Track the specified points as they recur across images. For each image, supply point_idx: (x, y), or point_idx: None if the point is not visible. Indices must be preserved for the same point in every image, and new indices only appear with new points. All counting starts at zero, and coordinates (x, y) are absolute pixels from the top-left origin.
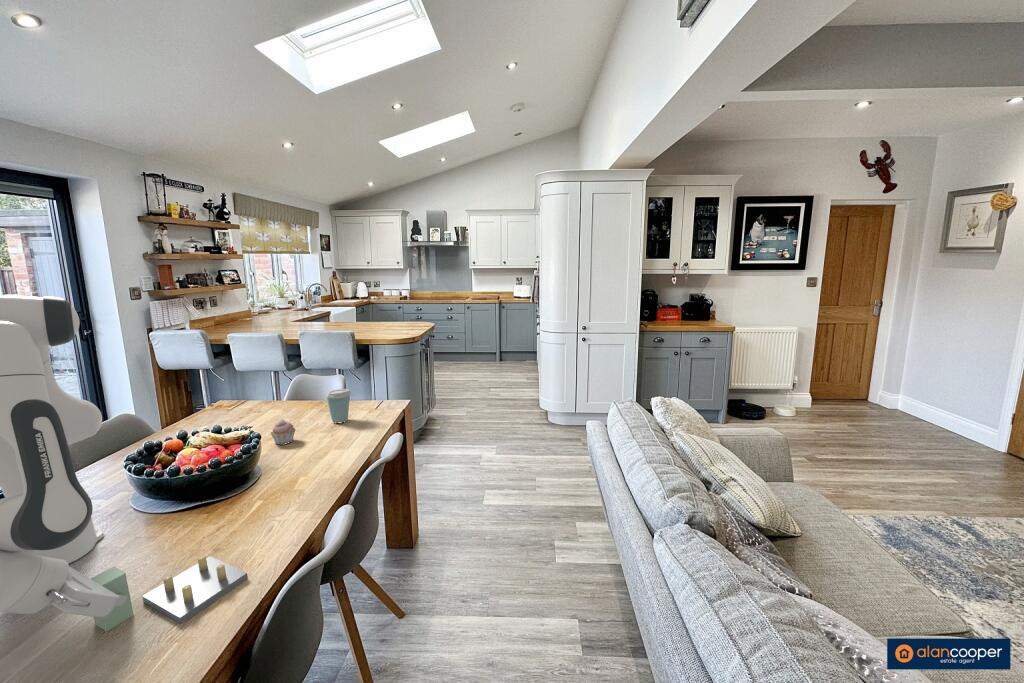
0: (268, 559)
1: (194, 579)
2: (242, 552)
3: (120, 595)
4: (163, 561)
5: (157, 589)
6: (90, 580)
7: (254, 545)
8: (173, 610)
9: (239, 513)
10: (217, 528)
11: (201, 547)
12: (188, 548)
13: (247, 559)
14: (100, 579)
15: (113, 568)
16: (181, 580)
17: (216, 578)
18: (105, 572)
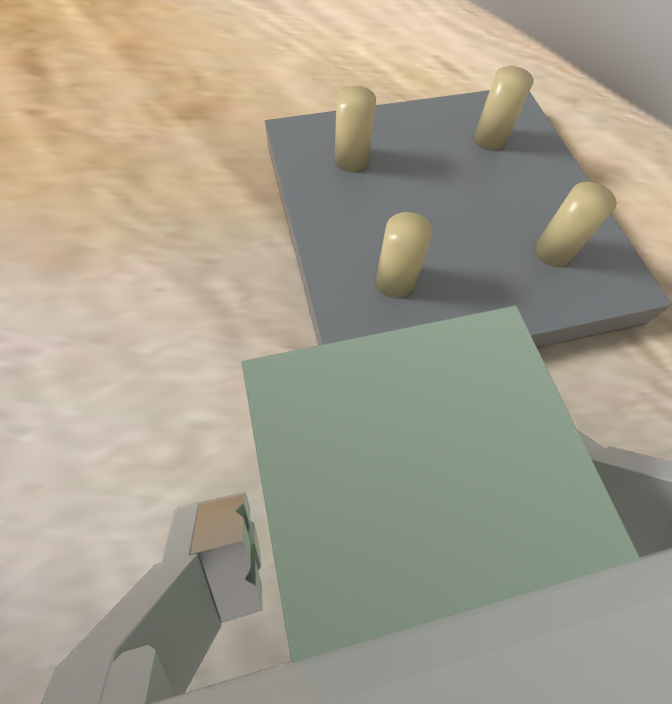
0: (446, 48)
1: (401, 199)
2: (315, 74)
3: (595, 443)
4: (43, 255)
5: (337, 316)
6: (528, 695)
7: (307, 43)
8: (592, 309)
9: (3, 3)
10: (22, 69)
11: (108, 138)
12: (53, 168)
13: (382, 79)
14: (443, 541)
15: (281, 374)
16: (359, 232)
17: (471, 150)
18: (301, 460)
